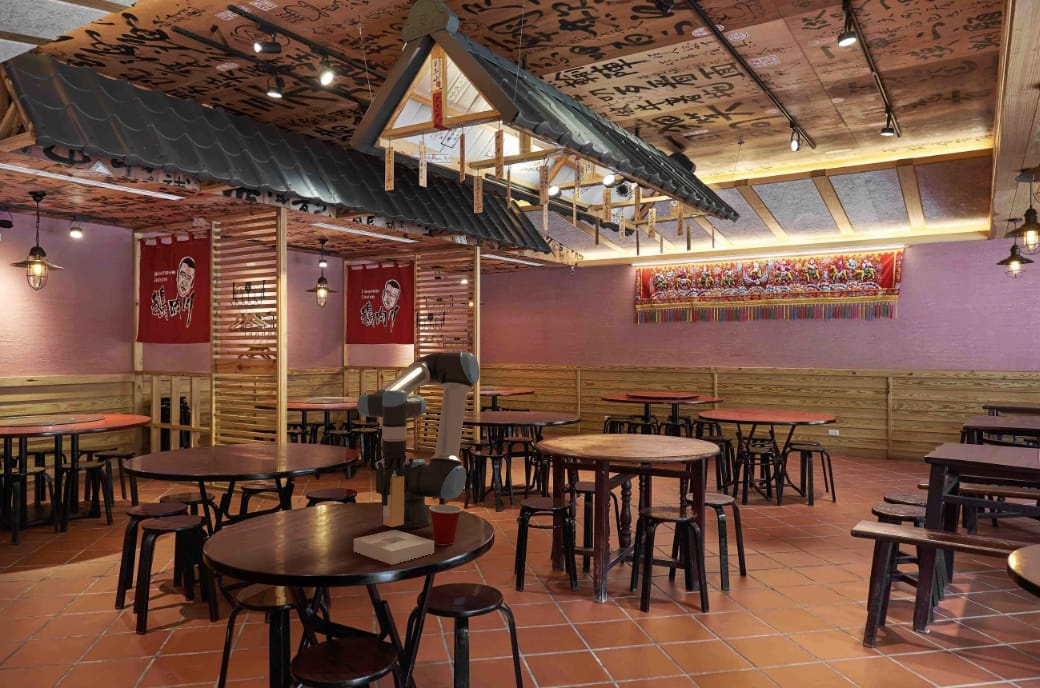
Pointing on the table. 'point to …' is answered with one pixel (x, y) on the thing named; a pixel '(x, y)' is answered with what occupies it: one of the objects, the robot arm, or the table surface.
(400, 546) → the socket plate
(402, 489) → the plug block
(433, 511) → the plastic cup
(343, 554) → the table surface
